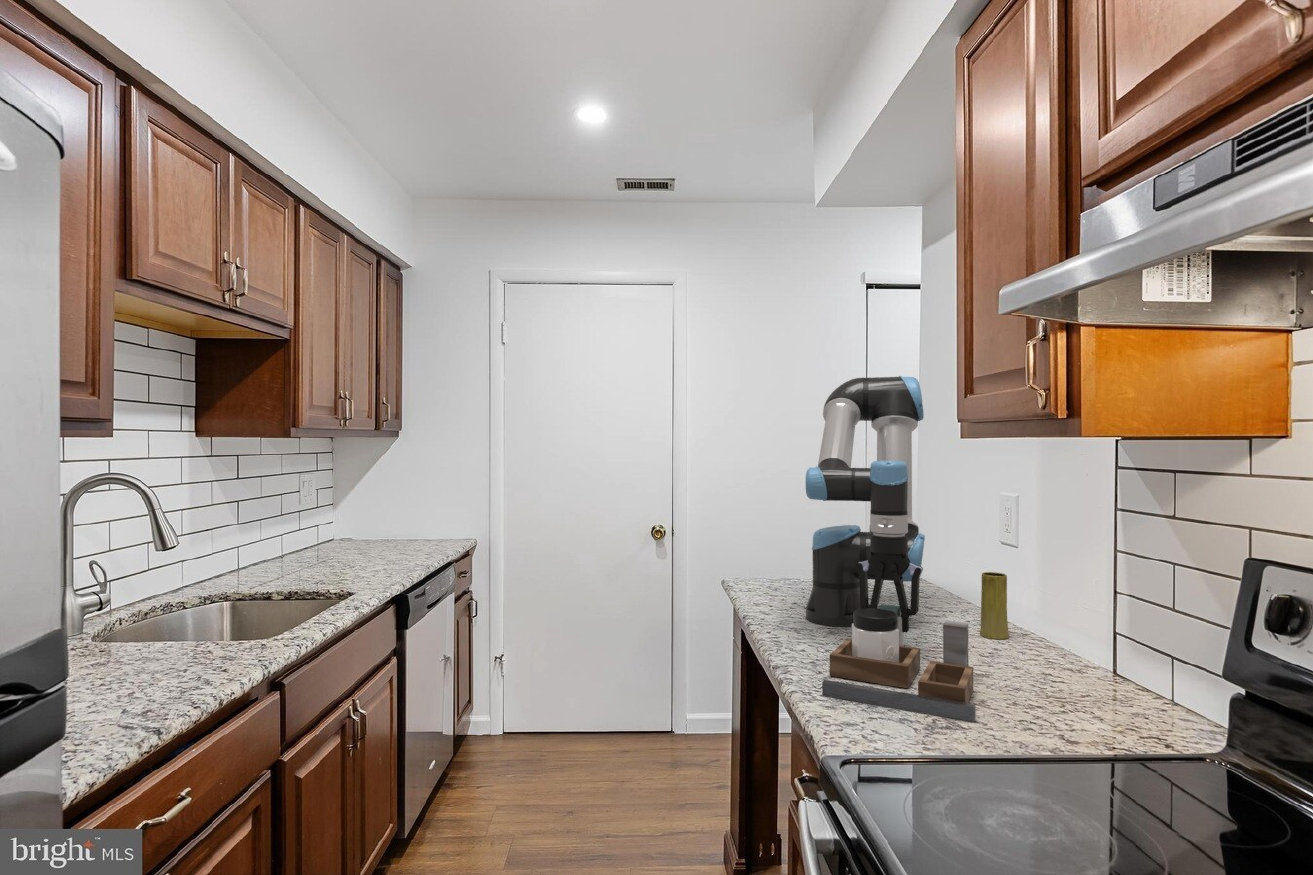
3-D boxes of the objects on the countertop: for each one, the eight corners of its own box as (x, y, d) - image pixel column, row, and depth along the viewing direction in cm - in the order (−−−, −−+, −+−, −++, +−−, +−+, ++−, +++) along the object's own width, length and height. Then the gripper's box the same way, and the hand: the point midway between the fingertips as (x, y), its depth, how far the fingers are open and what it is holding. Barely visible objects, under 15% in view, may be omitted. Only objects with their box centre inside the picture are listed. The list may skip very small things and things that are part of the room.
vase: (1006, 641, 163) (1005, 577, 163) (976, 636, 167) (976, 574, 167) (1011, 635, 168) (1011, 573, 168) (983, 631, 172) (982, 570, 172)
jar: (874, 685, 135) (874, 620, 135) (842, 672, 142) (842, 611, 142) (908, 677, 139) (908, 614, 139) (876, 665, 147) (876, 605, 147)
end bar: (824, 692, 131) (824, 679, 131) (975, 718, 119) (975, 704, 119) (822, 695, 130) (822, 682, 130) (974, 722, 118) (974, 707, 118)
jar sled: (856, 647, 158) (856, 601, 158) (926, 657, 151) (926, 609, 151) (829, 675, 140) (829, 623, 140) (907, 688, 133) (907, 633, 133)
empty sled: (936, 669, 143) (936, 619, 143) (978, 675, 140) (977, 623, 139) (918, 704, 125) (918, 646, 125) (964, 712, 121) (964, 652, 121)
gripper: (843, 533, 154) (843, 644, 154) (928, 539, 146) (929, 656, 146) (852, 529, 161) (852, 635, 161) (934, 534, 152) (935, 646, 152)
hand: (889, 645), depth 153 cm, fingers closed on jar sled, 4 cm apart
